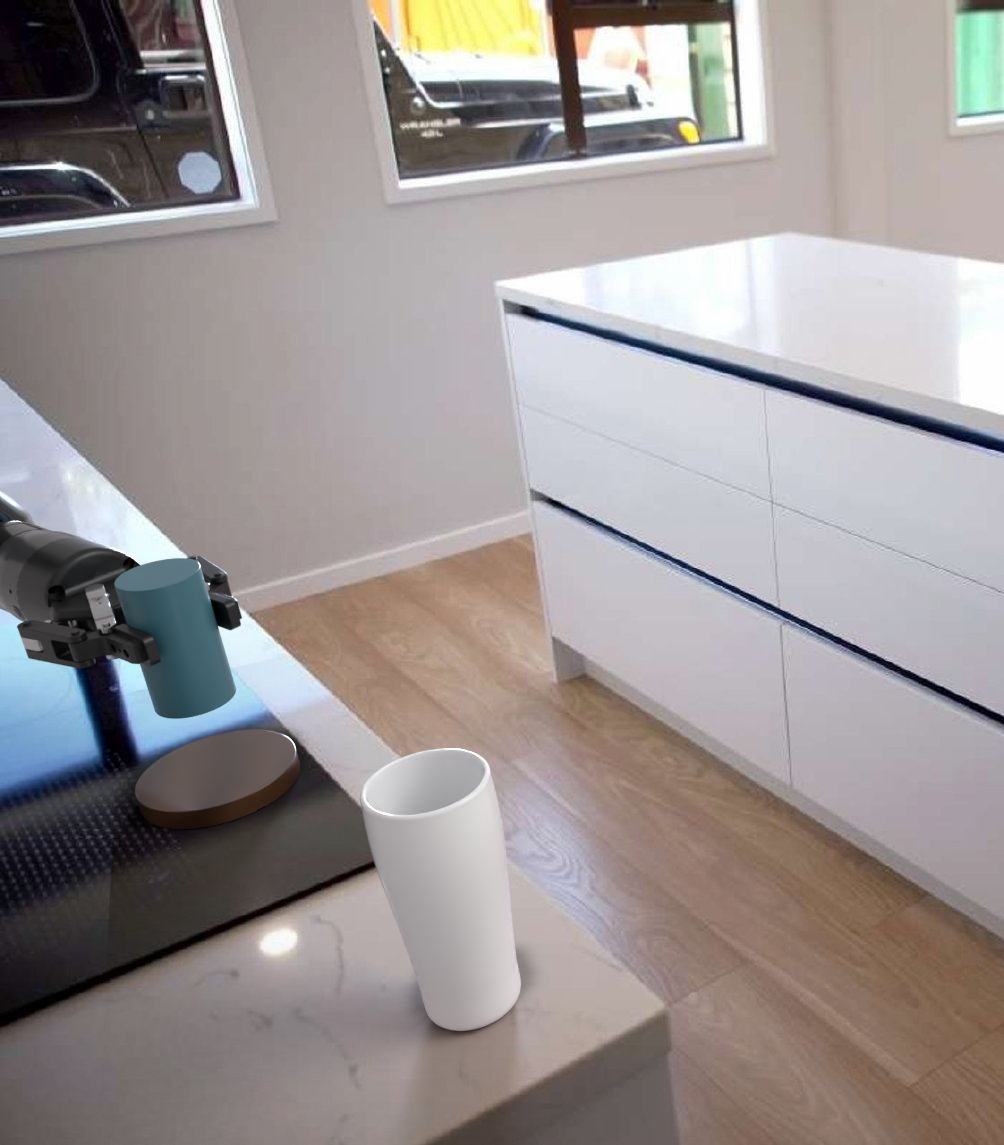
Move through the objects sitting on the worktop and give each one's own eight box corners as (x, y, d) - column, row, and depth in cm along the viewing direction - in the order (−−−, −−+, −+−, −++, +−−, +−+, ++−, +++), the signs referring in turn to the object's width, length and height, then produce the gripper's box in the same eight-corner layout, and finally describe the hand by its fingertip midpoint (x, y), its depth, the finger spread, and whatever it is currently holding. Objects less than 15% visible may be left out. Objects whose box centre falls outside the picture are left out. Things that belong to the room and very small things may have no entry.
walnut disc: (139, 847, 90) (133, 829, 90) (140, 771, 99) (135, 755, 99) (307, 799, 95) (302, 782, 94) (293, 731, 104) (289, 715, 103)
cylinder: (154, 726, 91) (113, 597, 87) (154, 693, 95) (114, 569, 91) (238, 705, 93) (201, 579, 89) (234, 673, 97) (199, 551, 93)
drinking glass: (388, 1032, 73) (329, 808, 66) (458, 952, 78) (410, 739, 72) (493, 1056, 70) (442, 827, 64) (557, 972, 76) (516, 754, 70)
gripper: (-51, 576, 92) (74, 627, 83) (144, 507, 103) (273, 546, 94) (-16, 669, 95) (109, 727, 86) (170, 593, 106) (297, 638, 97)
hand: (194, 633), depth 90 cm, fingers closed on cylinder, 5 cm apart
